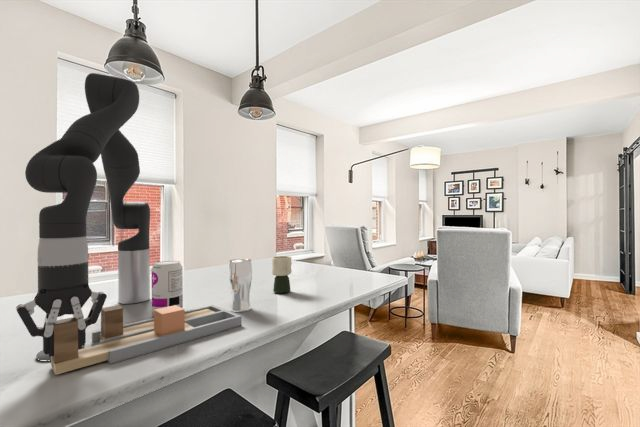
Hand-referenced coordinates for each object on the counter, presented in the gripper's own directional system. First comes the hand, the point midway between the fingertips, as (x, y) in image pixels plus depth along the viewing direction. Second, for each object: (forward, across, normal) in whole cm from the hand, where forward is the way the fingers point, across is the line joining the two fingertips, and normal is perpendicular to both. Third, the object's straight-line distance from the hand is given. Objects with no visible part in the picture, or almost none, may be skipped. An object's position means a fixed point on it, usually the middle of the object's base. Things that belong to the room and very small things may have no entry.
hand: (64, 351), depth 62 cm
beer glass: (+4, -44, -8) cm, 45 cm away
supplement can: (+4, -27, -20) cm, 34 cm away
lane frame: (+3, -21, -4) cm, 21 cm away
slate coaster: (+3, -1, -10) cm, 10 cm away
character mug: (+4, -66, -16) cm, 68 cm away
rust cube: (+1, -19, 0) cm, 19 cm away
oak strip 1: (+3, -11, 0) cm, 12 cm away
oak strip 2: (+3, -21, -7) cm, 22 cm away
